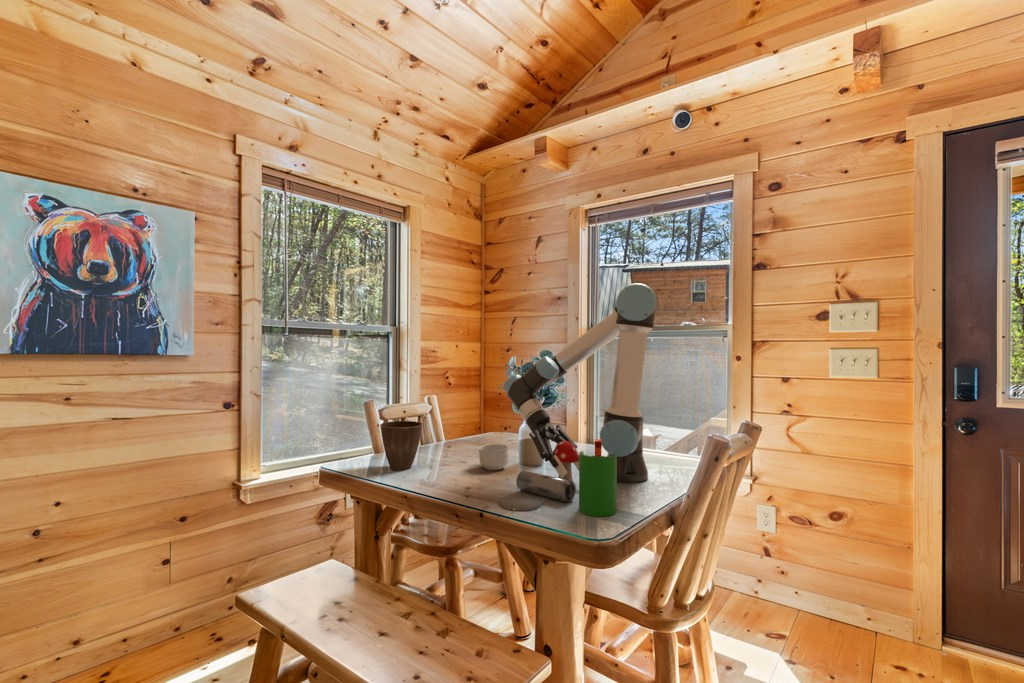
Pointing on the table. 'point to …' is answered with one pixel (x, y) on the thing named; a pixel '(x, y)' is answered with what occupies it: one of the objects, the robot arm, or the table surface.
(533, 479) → the metal pipe
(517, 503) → the rubber mat
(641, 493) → the table surface
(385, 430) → the plant pot
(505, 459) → the teacup
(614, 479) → the motor
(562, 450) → the decorative mushroom
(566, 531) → the table surface
